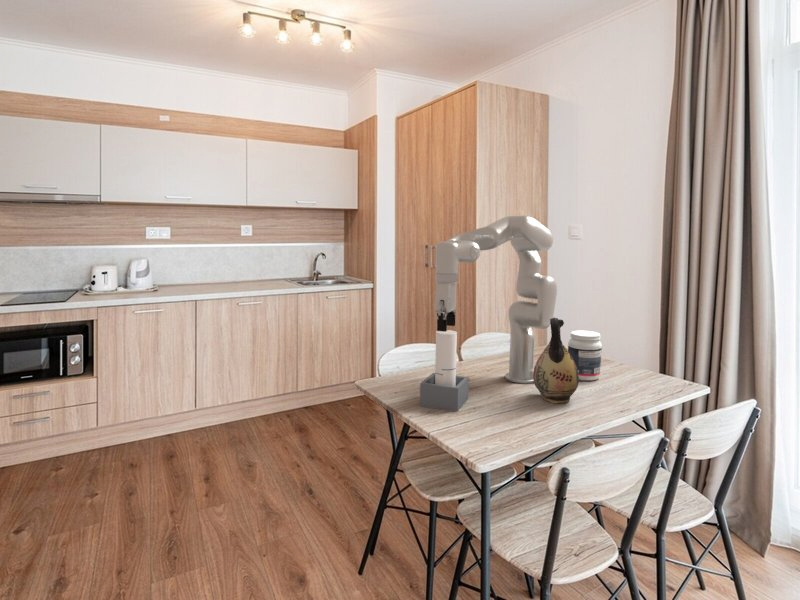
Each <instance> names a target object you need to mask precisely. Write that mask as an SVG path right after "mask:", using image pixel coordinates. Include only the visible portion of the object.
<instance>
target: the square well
mask: <svg viewBox="0 0 800 600" xmlns="http://www.w3.org/2000/svg"><path fill="white" fill-rule="evenodd" d="M469 382H470V377H469V376H462V375H456V387H453V386H446V385H438V384H435V372H432V373H431V374H429V376H427V377H426V378H425V379H424V380H422V381H421V382H420V383H419V406H420V407H425V406H426V407H425V408H431V407H432V408H433V409H437V410H438V409H439V410H445V411H451V412H452V411H453V412H459V411H460V409H462V407H463V406H464V405H465V404H466V403H467V401H468V400H469V396H470V395H469V391H470V390H469V388H470V385H469V384H470V383H469ZM463 404H464V405H463ZM432 408H431V409H432Z"/></svg>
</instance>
